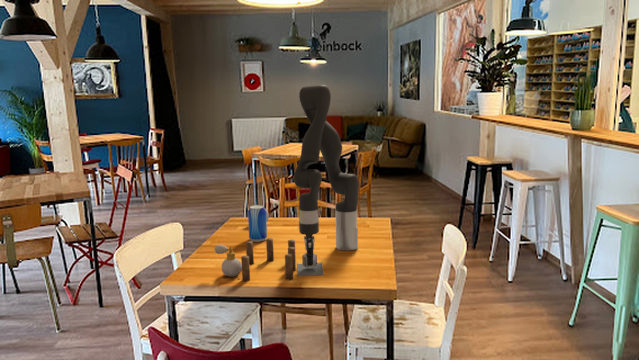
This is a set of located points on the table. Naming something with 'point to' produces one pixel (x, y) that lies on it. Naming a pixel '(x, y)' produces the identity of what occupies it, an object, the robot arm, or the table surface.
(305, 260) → the nut
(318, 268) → the felt mat
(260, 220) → the beer can
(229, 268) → the perfume bottle
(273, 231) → the table surface
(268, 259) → the post field
